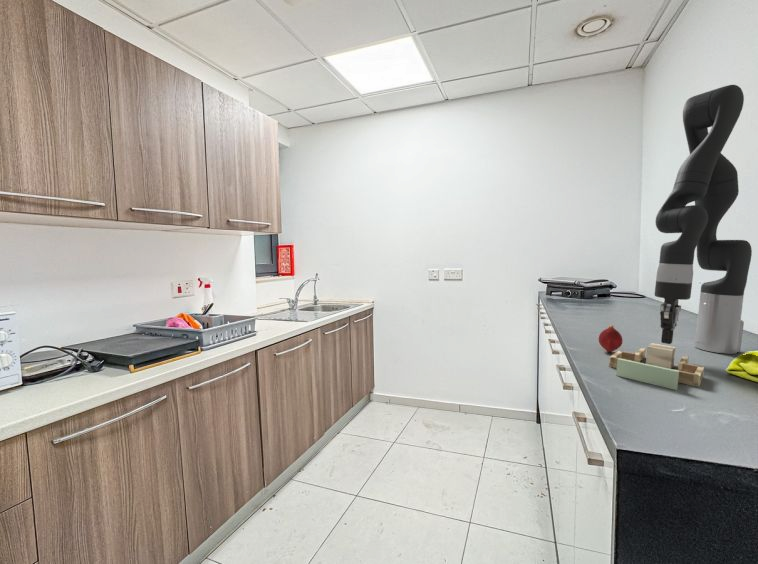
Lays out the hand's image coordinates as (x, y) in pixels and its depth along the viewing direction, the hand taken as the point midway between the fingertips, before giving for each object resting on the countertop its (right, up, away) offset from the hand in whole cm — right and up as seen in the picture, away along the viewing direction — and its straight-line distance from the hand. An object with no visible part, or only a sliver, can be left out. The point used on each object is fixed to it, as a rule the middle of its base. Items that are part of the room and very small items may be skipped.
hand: (666, 343), depth 95 cm
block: (-6, -5, -5) cm, 10 cm away
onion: (-12, -4, +6) cm, 14 cm away
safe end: (-19, -6, -17) cm, 26 cm away
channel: (-11, -5, -9) cm, 15 cm away
